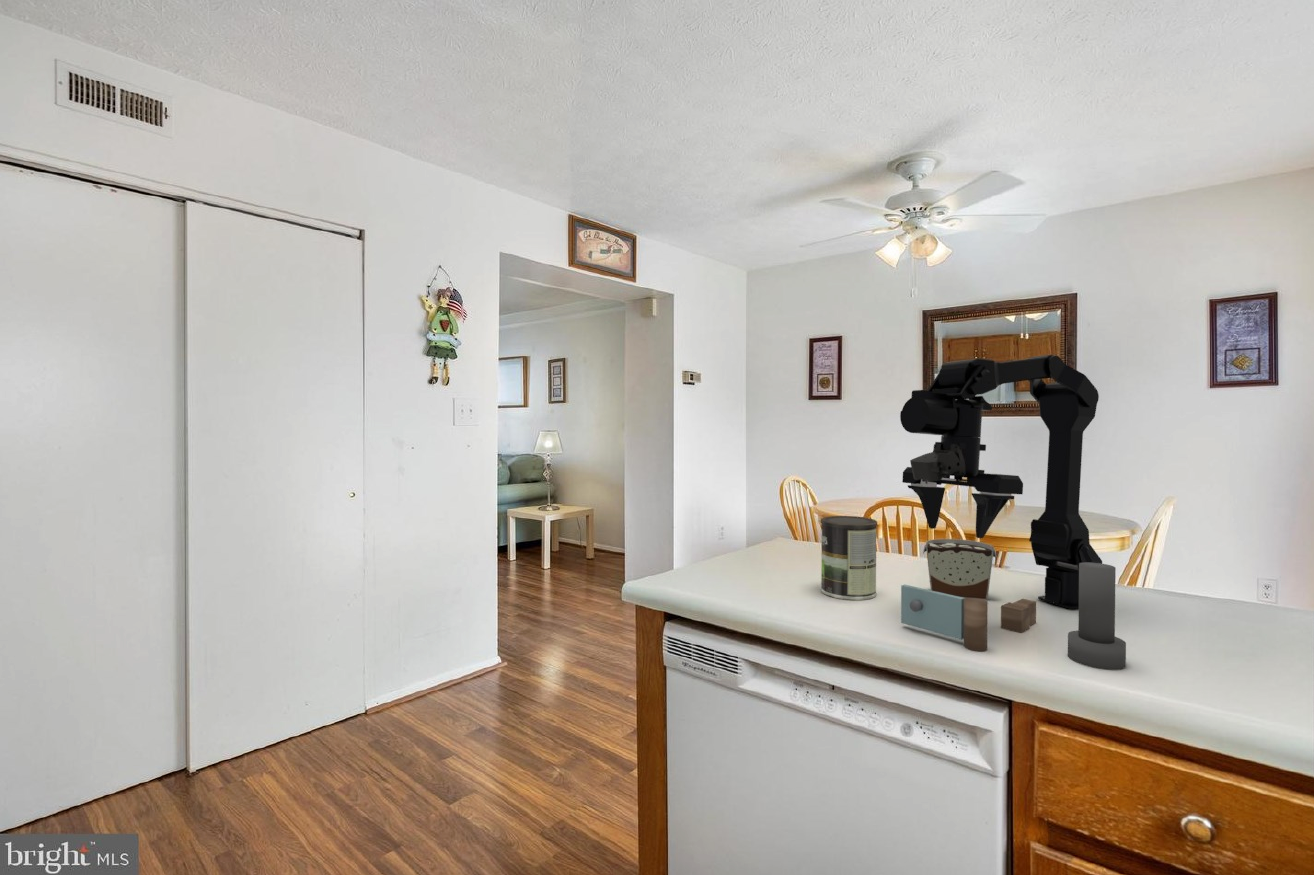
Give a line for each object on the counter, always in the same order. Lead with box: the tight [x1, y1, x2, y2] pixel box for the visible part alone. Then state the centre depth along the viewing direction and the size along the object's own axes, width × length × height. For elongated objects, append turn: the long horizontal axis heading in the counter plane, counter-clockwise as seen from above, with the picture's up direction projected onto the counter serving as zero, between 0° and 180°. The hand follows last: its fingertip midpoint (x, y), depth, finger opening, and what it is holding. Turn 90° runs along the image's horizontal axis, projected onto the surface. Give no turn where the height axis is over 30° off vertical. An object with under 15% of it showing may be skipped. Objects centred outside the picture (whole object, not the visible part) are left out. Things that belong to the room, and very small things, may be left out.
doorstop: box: [1067, 562, 1127, 671], centre depth 81 cm, size 6×6×13 cm
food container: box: [922, 538, 998, 602], centre depth 114 cm, size 12×6×10 cm, turn 71°
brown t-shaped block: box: [963, 598, 1037, 652], centre depth 92 cm, size 20×3×7 cm, turn 127°
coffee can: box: [820, 515, 878, 601], centre depth 115 cm, size 10×10×14 cm
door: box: [900, 584, 965, 641], centre depth 91 cm, size 10×2×6 cm, turn 37°
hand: (954, 533), depth 97 cm, fingers open, 9 cm apart
